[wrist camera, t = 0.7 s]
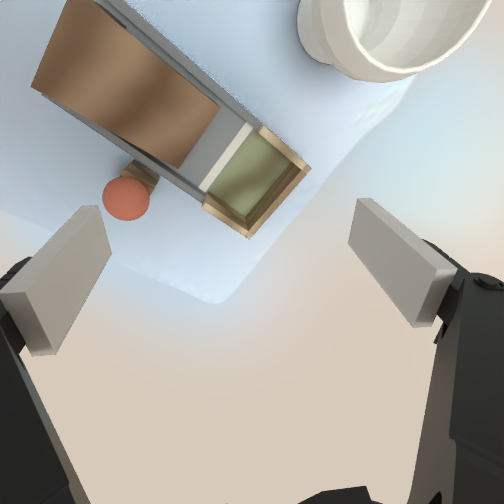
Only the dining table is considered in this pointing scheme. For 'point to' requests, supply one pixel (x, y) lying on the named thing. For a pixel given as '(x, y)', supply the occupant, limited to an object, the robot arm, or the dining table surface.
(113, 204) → the ball
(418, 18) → the cup
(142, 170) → the hollow wooden block
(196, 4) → the dining table surface
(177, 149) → the ramp
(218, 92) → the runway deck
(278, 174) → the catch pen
